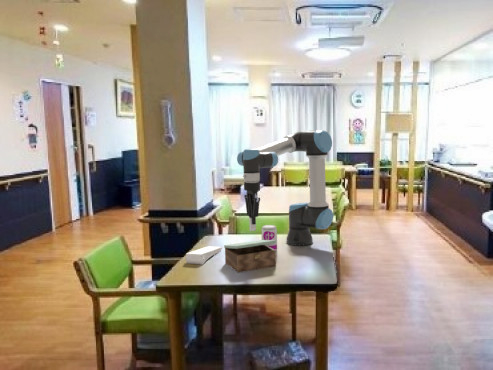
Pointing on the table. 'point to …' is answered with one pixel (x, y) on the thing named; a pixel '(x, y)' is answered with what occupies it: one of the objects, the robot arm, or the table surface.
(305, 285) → the table surface
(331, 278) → the table surface
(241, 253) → the walnut box
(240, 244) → the lid
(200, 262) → the white rectangular bar
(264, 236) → the supplement can
